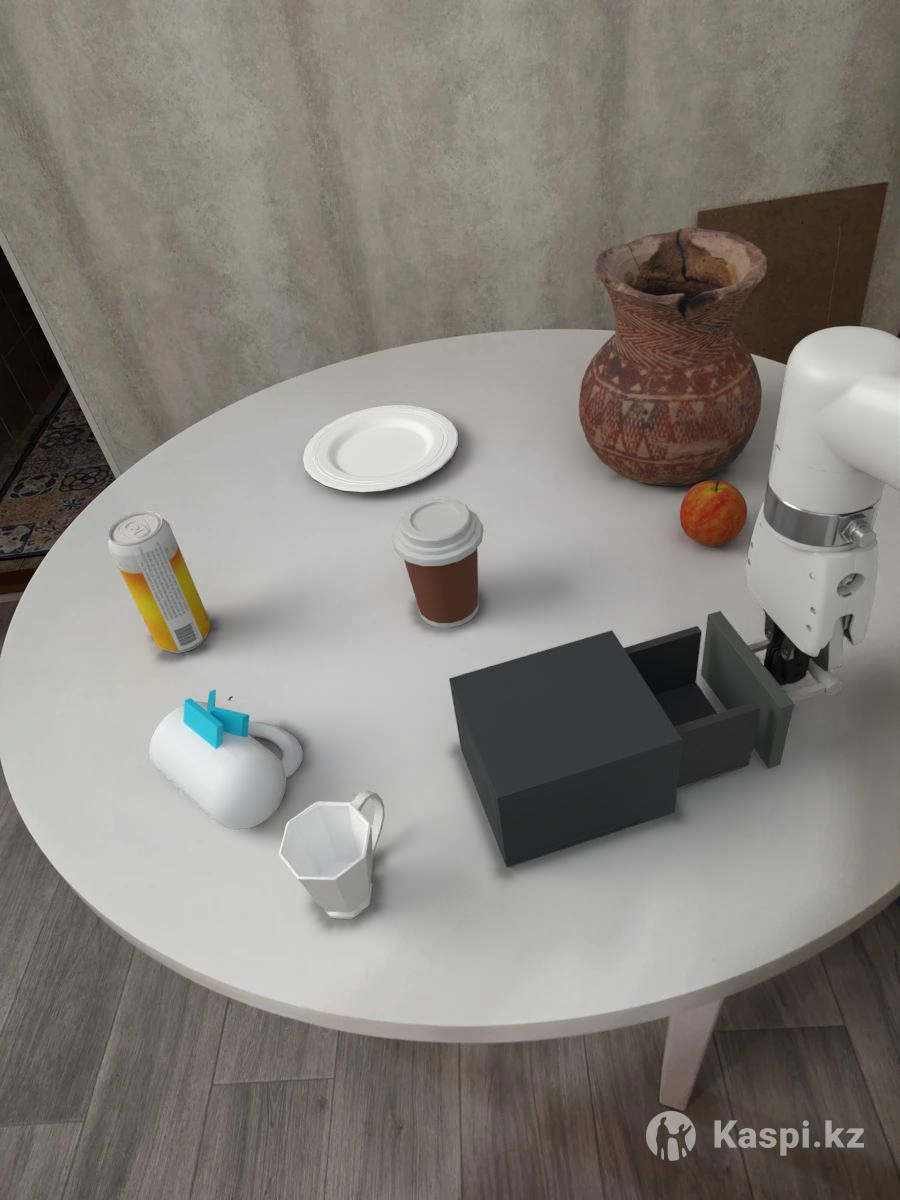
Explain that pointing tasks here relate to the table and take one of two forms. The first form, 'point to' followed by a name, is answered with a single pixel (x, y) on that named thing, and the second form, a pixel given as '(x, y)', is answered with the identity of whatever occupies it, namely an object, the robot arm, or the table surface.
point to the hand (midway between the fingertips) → (783, 676)
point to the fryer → (565, 746)
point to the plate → (380, 449)
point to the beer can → (159, 580)
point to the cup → (335, 853)
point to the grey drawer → (721, 697)
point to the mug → (224, 761)
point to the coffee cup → (441, 558)
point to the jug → (674, 357)
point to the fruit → (713, 512)
